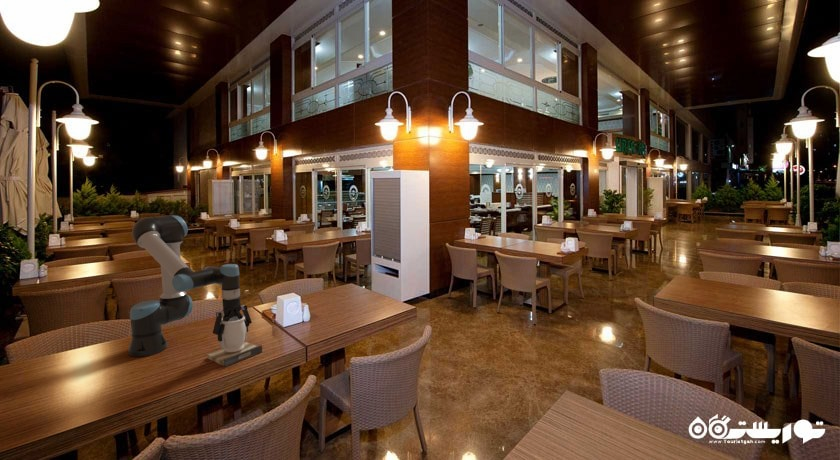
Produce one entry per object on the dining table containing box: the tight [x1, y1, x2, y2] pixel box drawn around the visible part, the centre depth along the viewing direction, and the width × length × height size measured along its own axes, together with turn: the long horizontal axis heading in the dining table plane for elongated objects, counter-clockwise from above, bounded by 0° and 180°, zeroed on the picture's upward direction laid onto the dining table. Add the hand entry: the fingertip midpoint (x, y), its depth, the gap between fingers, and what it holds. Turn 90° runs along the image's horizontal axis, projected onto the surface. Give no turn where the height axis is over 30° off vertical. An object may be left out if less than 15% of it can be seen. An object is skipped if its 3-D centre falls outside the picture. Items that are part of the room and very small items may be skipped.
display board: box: [206, 340, 263, 368], centre depth 175 cm, size 15×18×3 cm
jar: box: [221, 314, 246, 352], centre depth 174 cm, size 11×10×15 cm
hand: (233, 343), depth 175 cm, fingers closed on jar, 10 cm apart
